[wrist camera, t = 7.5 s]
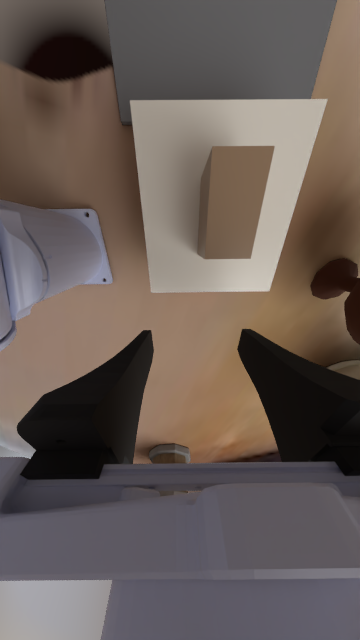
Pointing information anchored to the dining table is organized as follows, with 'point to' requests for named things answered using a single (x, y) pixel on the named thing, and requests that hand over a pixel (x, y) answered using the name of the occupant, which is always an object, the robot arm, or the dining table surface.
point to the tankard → (170, 459)
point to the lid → (220, 187)
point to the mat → (216, 49)
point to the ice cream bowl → (341, 290)
